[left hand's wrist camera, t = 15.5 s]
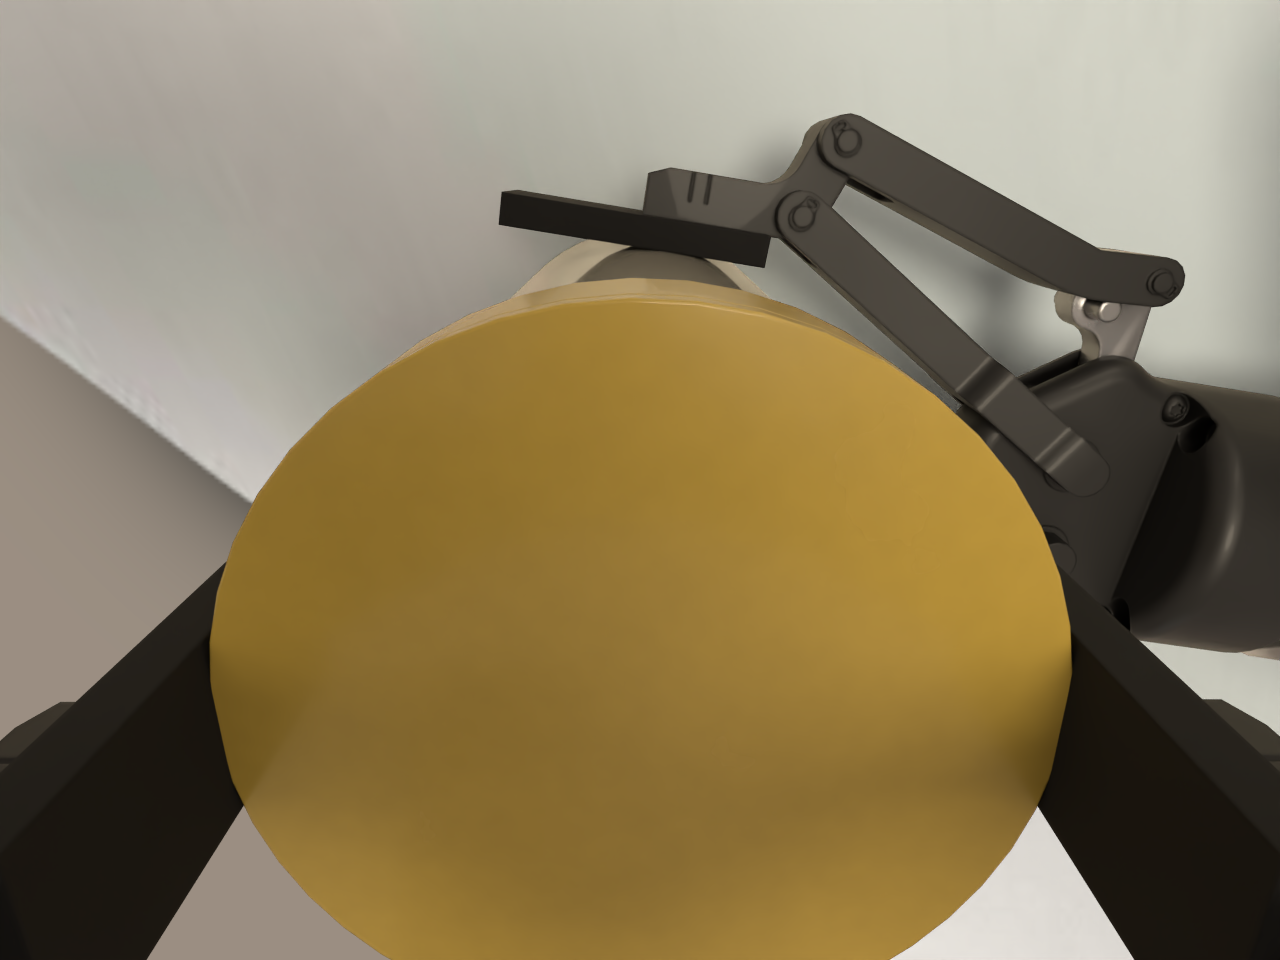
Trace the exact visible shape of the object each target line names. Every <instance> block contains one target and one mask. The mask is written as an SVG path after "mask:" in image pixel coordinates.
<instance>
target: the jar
mask: <svg viewBox="0 0 1280 960" xmlns="http://www.w3.org/2000/svg"><path fill="white" fill-rule="evenodd" d="M624 278H646V279H668V280H689V281H694V282H700V283H705V284H711V285H716V286H722V287H727V288H733V289H738V290H744V291H747V292H750V293H753V294H756V295H759V296H762V297H765V298H768V299H771V298H769V297H768V296H767V295H766V294H765V293H764V292H763V291H762V290H761V289H760V288H759V287H758V286H757V285H756V284H755V283H754V282H752V281H751V280H750V279H749V278H748V277H747V276H746V275H745V274H744V273H743V272H742V271H741V270H739V269H738V268H737V267H736V266H735V265H734V264H733V263H731V262H725V261H719V260H712V259H706V258H700V257H694V256H688V255H682V254H676V253H669V252H664V251H657V250H651V249H645V248H639V247H633V246H627V245H620V244H614V243H608V242H602V241H596V240H590V239H588V240H586V241H583V242H580V243H578V244H576V245H575V246H573V247H571V248H569V249H567V250H565V251H564V252H562V253H561V254H559V255H558V256H556V257H555V258H554V259H552V260H551V261H550V262H548V263H547V264H546V265H545V266H544V267H543V268H542V269H541V270H539V271H538V272H537V273H536V274H535V275H534V276H533V277H532V278H531V279H530V280H529V281H528V282H527V283H526V284H525V285H524V286H523V287H522V288H520V289H519V290H518V291H517V292H516V293H515V294H514V295H513V296H512V297H511V298H510V299H512V298H514V297H517V296H520V295H524V294H528V293H533V292H537V291H541V290H546V289H550V288H555V287H559V286H563V285H568V284H572V283H579V282H590V281H602V280H613V279H624ZM771 300H772V299H771Z"/></svg>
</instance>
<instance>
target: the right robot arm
mask: <svg viewBox="0 0 1280 960" xmlns="http://www.w3.org/2000/svg"><path fill="white" fill-rule="evenodd" d="M845 185H847V186H849V187H851V188H853V189H855V190H856V191H858V192H860V193H862V194H864V195H866V196H867V197H869V198H871V199H873V200H875V201H877V202H879V203H880V204H882V205H884V206H886V207H888V208H890V209H892V210H893V211H895V212H897V213H899V214H901V215H903V216H905V217H906V218H908V219H910V220H912V221H914V222H916V223H918V224H919V225H921V226H923V227H925V228H927V229H929V230H930V231H932V232H934V233H936V234H938V235H940V236H942V237H943V238H945V239H947V240H949V241H951V242H953V243H955V244H956V245H958V246H960V247H962V248H964V249H966V250H968V251H969V252H971V253H973V254H975V255H977V256H979V257H980V258H982V259H984V260H986V261H988V262H990V263H992V264H993V265H995V266H997V267H999V268H1001V269H1003V270H1005V271H1006V272H1008V273H1010V274H1012V275H1014V276H1016V277H1018V278H1020V279H1023V280H1025V281H1027V282H1030V283H1033V284H1036V285H1039V286H1043V287H1046V288H1050V289H1053V290H1057V292H1056V294H1055V296H1054V303H1055V309H1056V313H1057V315H1058V317H1059V318H1060V319H1061V320H1063V321H1064V322H1067V323H1069V324H1071V325H1074V326H1075V327H1076V328H1077V329H1078V330H1079V331H1080V333H1081V335H1082V348H1081V349H1079V350H1076V351H1073V352H1071V353H1069V354H1066V355H1064V356H1062V357H1060V358H1058V359H1056V360H1053V361H1051V362H1049V363H1047V364H1045V365H1043V366H1040V367H1038V368H1036V369H1034V370H1032V371H1030V372H1027V373H1025V374H1023V375H1021V376H1019V377H1015V376H1014V375H1013V374H1012V373H1011V372H1010V371H1008V370H1007V369H1006V368H1005V367H1003V366H1002V365H1001V364H999V363H998V362H997V361H995V360H994V359H993V358H992V357H991V356H990V355H988V354H987V353H986V352H985V351H984V350H983V349H982V348H981V347H980V346H979V345H978V344H977V343H976V342H975V341H973V340H972V339H971V338H970V337H969V336H968V335H967V334H966V333H965V332H964V331H963V330H962V329H961V328H960V327H959V326H957V325H956V324H955V323H954V322H953V321H952V320H951V319H950V318H949V317H948V316H947V315H946V314H945V313H944V312H943V311H941V310H940V309H939V308H938V307H937V306H936V305H935V304H934V303H933V302H932V301H931V300H930V299H929V298H928V297H926V296H925V295H924V294H923V293H922V292H921V291H920V290H919V289H918V288H917V287H916V286H915V285H914V284H913V283H912V282H910V281H909V280H908V279H907V278H906V277H905V276H904V275H903V274H902V273H901V272H900V271H899V270H898V269H897V268H896V267H894V266H893V265H892V264H891V263H890V262H889V261H888V260H887V259H886V258H885V257H884V256H883V255H882V254H881V253H880V252H878V251H877V250H876V249H875V248H874V247H873V246H872V245H871V244H870V243H869V242H868V241H867V240H866V239H865V238H864V237H862V236H861V235H860V234H859V233H858V232H857V231H856V230H855V229H854V228H853V227H852V226H851V225H850V224H849V223H847V222H846V221H845V220H844V219H843V218H842V217H841V216H840V215H839V214H838V213H837V212H836V211H835V210H834V209H833V208H832V206H833V204H834V203H835V201H836V199H837V198H838V196H839V194H840V193H841V191H842V189H843V188H844V186H845ZM499 225H504V226H510V227H516V228H522V229H528V230H535V231H541V232H547V233H553V234H559V235H565V236H571V237H577V238H584V239H590V240H596V241H602V242H608V243H614V244H620V245H627V246H633V247H639V248H645V249H651V250H657V251H664V252H669V253H676V254H682V255H688V256H694V257H700V258H706V259H712V260H719V261H725V262H731V263H737V264H743V265H749V266H755V267H761V268H765V263H766V258H767V253H768V249H769V244H770V239H771V237H774V238H779V239H780V240H781V241H782V242H783V243H785V244H786V245H787V246H788V247H789V248H790V249H791V250H792V251H793V252H794V253H796V254H797V255H798V256H799V257H800V258H801V259H802V260H803V261H804V262H805V263H807V264H808V265H809V266H810V267H811V268H812V269H813V270H814V271H815V272H817V273H818V274H819V275H820V276H821V277H822V278H823V279H824V280H825V281H826V282H828V283H829V284H830V285H831V286H832V287H833V288H834V289H835V290H836V291H837V292H839V293H840V294H841V295H842V296H843V297H844V298H845V299H846V300H847V301H849V302H850V303H851V304H852V305H853V306H854V307H855V308H856V309H857V310H858V311H860V312H861V313H862V314H863V315H864V316H865V317H866V318H867V319H868V320H869V321H871V322H872V323H873V324H874V325H875V326H876V327H877V328H878V329H879V330H881V331H882V332H883V333H884V334H885V335H886V336H887V337H888V338H889V339H890V340H892V341H893V342H894V343H895V344H896V345H897V346H898V347H899V348H900V349H901V350H903V351H904V352H905V353H906V354H907V355H908V356H909V357H910V358H911V359H912V360H914V361H915V362H916V363H917V364H918V365H919V366H920V367H921V368H922V369H924V370H925V371H926V372H927V373H928V375H929V376H930V377H931V378H932V379H933V380H934V381H935V382H937V383H938V384H939V385H940V386H941V387H942V388H943V389H944V390H945V391H946V392H948V393H949V394H950V395H951V396H952V397H953V398H954V399H955V400H956V401H957V402H959V403H960V404H961V405H962V407H961V408H960V409H959V410H958V411H957V412H956V413H955V414H956V415H957V416H958V417H960V418H961V419H962V420H963V421H964V422H965V423H966V424H967V425H968V426H969V427H970V428H972V429H973V430H974V431H975V432H976V433H977V434H978V435H979V436H980V437H981V438H982V440H983V441H984V442H985V443H986V445H987V446H988V447H989V448H990V450H991V451H992V452H993V453H994V455H995V456H996V457H997V458H998V460H999V461H1000V462H1001V463H1002V464H1003V466H1004V467H1005V468H1006V469H1007V471H1008V472H1009V473H1010V474H1011V476H1012V477H1013V478H1014V479H1015V481H1016V483H1017V485H1018V486H1019V488H1020V490H1021V492H1022V493H1023V495H1024V497H1025V498H1026V500H1027V502H1028V504H1029V505H1030V507H1031V509H1032V511H1033V512H1034V514H1035V516H1036V518H1037V519H1038V521H1039V523H1040V525H1041V526H1042V529H1043V532H1044V534H1045V537H1046V539H1047V542H1048V545H1049V547H1050V550H1051V553H1052V555H1053V558H1054V561H1055V563H1057V564H1058V565H1059V566H1060V567H1061V568H1062V569H1063V570H1064V571H1065V572H1066V573H1067V574H1068V575H1069V576H1070V577H1072V578H1073V579H1074V580H1075V581H1076V582H1077V583H1078V584H1079V585H1080V586H1081V587H1082V588H1083V589H1084V590H1085V591H1087V592H1088V593H1089V594H1090V595H1091V596H1092V597H1093V598H1094V599H1095V600H1096V601H1097V602H1098V603H1099V604H1101V605H1102V606H1103V607H1104V608H1105V609H1106V610H1107V611H1108V612H1109V613H1110V614H1111V615H1112V616H1113V617H1114V618H1116V619H1117V620H1118V621H1119V622H1120V623H1121V624H1122V625H1123V626H1124V627H1125V628H1126V629H1127V630H1128V631H1129V632H1131V633H1132V634H1133V635H1134V636H1135V637H1136V638H1137V639H1138V640H1140V641H1147V642H1154V643H1161V644H1169V645H1176V646H1183V647H1190V648H1197V649H1204V650H1211V651H1219V652H1232V653H1238V652H1242V653H1244V654H1246V655H1248V656H1255V657H1261V658H1268V659H1274V660H1280V397H1276V396H1272V395H1265V394H1259V393H1253V392H1246V391H1240V390H1234V389H1228V388H1221V387H1215V386H1209V385H1202V384H1196V383H1190V382H1183V381H1177V380H1171V379H1165V378H1158V377H1153V376H1151V375H1150V374H1149V373H1147V372H1146V371H1145V370H1144V369H1143V367H1142V366H1140V365H1139V364H1138V363H1136V362H1135V361H1134V359H1135V356H1136V353H1137V350H1138V347H1139V344H1140V341H1141V338H1142V335H1143V331H1144V328H1145V325H1146V322H1147V319H1148V316H1149V313H1150V310H1151V307H1159V306H1163V305H1166V304H1168V303H1170V302H1172V301H1173V300H1174V299H1175V298H1176V297H1177V296H1178V295H1179V293H1180V291H1181V290H1182V288H1183V286H1184V280H1185V273H1184V270H1183V267H1182V266H1181V265H1180V264H1179V262H1178V261H1176V260H1173V259H1170V258H1167V257H1160V256H1154V255H1147V254H1141V253H1134V252H1128V251H1122V250H1115V249H1106V248H1097V247H1095V246H1093V245H1091V244H1089V243H1087V242H1086V241H1084V240H1082V239H1080V238H1078V237H1077V236H1075V235H1073V234H1071V233H1069V232H1068V231H1066V230H1064V229H1062V228H1060V227H1059V226H1057V225H1055V224H1053V223H1052V222H1050V221H1048V220H1046V219H1044V218H1043V217H1041V216H1039V215H1037V214H1035V213H1034V212H1032V211H1030V210H1028V209H1026V208H1025V207H1023V206H1021V205H1019V204H1017V203H1016V202H1014V201H1012V200H1010V199H1008V198H1007V197H1005V196H1003V195H1001V194H999V193H998V192H996V191H994V190H992V189H990V188H989V187H987V186H985V185H983V184H981V183H980V182H978V181H976V180H974V179H972V178H971V177H969V176H967V175H965V174H963V173H962V172H960V171H958V170H956V169H955V168H953V167H951V166H949V165H947V164H946V163H944V162H942V161H940V160H938V159H937V158H935V157H933V156H931V155H929V154H928V153H926V152H924V151H922V150H920V149H919V148H917V147H915V146H913V145H911V144H910V143H908V142H906V141H904V140H902V139H901V138H899V137H897V136H895V135H893V134H892V133H890V132H888V131H886V130H884V129H883V128H881V127H879V126H877V125H875V124H874V123H872V122H870V121H868V120H866V119H865V118H863V117H861V116H858V115H855V114H851V113H850V114H844V115H839V116H836V117H832V118H829V119H826V120H822V121H819V122H817V123H816V124H814V125H813V126H811V127H810V128H809V130H808V131H807V132H806V134H805V136H804V139H803V143H802V146H801V148H800V149H799V151H798V153H797V155H796V156H795V158H794V160H793V162H792V163H791V165H790V167H789V168H788V169H787V171H786V172H785V173H784V174H783V175H782V176H781V177H780V178H778V179H776V180H774V181H772V182H768V183H759V182H753V181H747V180H741V179H735V178H729V177H724V176H718V175H712V174H706V173H700V172H694V171H688V170H682V169H676V168H667V169H663V170H659V171H654V172H650V173H648V178H647V185H646V191H645V198H644V205H643V211H642V210H636V209H630V208H624V207H618V206H612V205H606V204H600V203H594V202H588V201H581V200H575V199H569V198H563V197H557V196H551V195H545V194H539V193H533V192H527V191H521V190H513V191H505V192H502V194H501V205H500V216H499Z"/></svg>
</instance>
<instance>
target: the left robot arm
mask: <svg viewBox="0 0 1280 960" xmlns="http://www.w3.org/2000/svg"><path fill="white" fill-rule="evenodd" d="M225 566H226V562H225V563H224V564H223V565H222V566H221V567H220V568H219V569H218V570H217V571H216V572H215V573H214V574H213V575H212V576H210V577H209V578H208V579H207V580H206V581H205V582H204V583H203V584H202V585H201V586H200V587H199V588H198V589H197V590H195V591H194V592H193V593H192V594H191V595H190V596H189V597H188V598H187V599H186V600H185V601H184V602H183V603H181V604H180V605H179V606H178V607H177V608H176V609H175V610H174V611H173V612H172V613H171V614H170V615H169V616H168V617H166V618H165V619H164V620H163V621H162V622H161V623H160V624H159V625H158V626H157V627H156V628H155V629H154V630H153V631H151V632H150V633H149V634H148V635H147V636H146V637H145V638H144V639H143V640H142V641H141V642H140V643H139V644H137V645H136V646H135V647H134V648H133V649H132V650H131V651H130V652H129V653H128V654H127V655H126V656H125V657H124V658H123V659H121V660H120V661H119V662H118V663H117V664H116V665H115V666H114V667H113V668H112V669H111V670H110V671H109V672H108V673H106V674H105V675H104V676H103V677H102V678H101V679H100V680H99V681H98V682H97V683H96V684H95V685H94V686H92V687H91V688H90V689H89V690H88V691H87V692H86V693H85V694H84V695H83V696H82V697H81V698H80V699H79V700H77V701H76V702H60V703H58V704H56V705H54V706H53V707H51V708H49V709H47V710H46V711H44V712H42V713H40V714H38V715H37V716H35V717H33V718H31V719H30V720H28V721H26V722H25V723H23V724H21V725H19V726H17V727H16V728H14V729H13V730H12V731H11V732H10V733H9V734H8V735H6V736H5V737H4V738H3V739H2V740H1V741H0V960H147V958H148V956H149V955H150V953H151V952H152V950H153V949H154V947H155V945H156V944H157V942H158V941H159V939H160V938H161V936H162V934H163V933H164V931H165V930H166V928H167V926H168V925H169V923H170V921H171V920H172V918H173V917H174V915H175V914H176V912H177V911H178V909H179V907H180V906H181V904H182V903H183V901H184V899H185V898H186V896H187V895H188V893H189V891H190V890H191V888H192V887H193V885H194V883H195V882H196V880H197V879H198V877H199V876H200V874H201V872H202V871H203V869H204V868H205V866H206V864H207V863H208V861H209V860H210V858H211V856H212V855H213V853H214V852H215V850H216V849H217V847H218V845H219V844H220V842H221V841H222V839H223V837H224V836H225V834H226V833H227V831H228V829H229V828H230V826H231V825H232V823H233V822H234V820H235V818H236V817H237V815H238V814H239V812H240V810H241V809H242V807H243V806H244V804H243V802H242V800H241V798H240V796H239V794H238V792H237V790H236V788H235V786H234V784H233V782H232V778H231V774H230V770H229V766H228V762H227V758H226V753H225V749H224V744H223V740H222V735H221V731H220V726H219V722H218V717H217V712H216V708H215V703H214V699H213V694H212V689H211V683H210V636H211V629H212V623H213V616H214V609H215V603H216V596H217V591H218V587H219V584H220V581H221V578H222V575H223V572H224V569H225ZM1056 566H1057V569H1058V571H1059V574H1060V577H1061V582H1062V587H1063V592H1064V597H1065V602H1066V607H1067V612H1068V617H1069V622H1070V632H1071V657H1072V677H1071V682H1070V687H1069V692H1068V697H1067V701H1066V706H1065V711H1064V715H1063V720H1062V724H1061V729H1060V733H1059V738H1058V743H1057V747H1056V752H1055V756H1054V761H1053V765H1052V770H1051V774H1050V777H1049V781H1048V783H1047V785H1046V787H1045V790H1044V792H1043V794H1042V796H1041V799H1040V801H1039V803H1038V807H1039V809H1040V811H1041V812H1042V814H1043V815H1044V817H1045V819H1046V820H1047V822H1048V823H1049V825H1050V827H1051V828H1052V830H1053V831H1054V833H1055V834H1056V836H1057V838H1058V839H1059V841H1060V842H1061V844H1062V846H1063V847H1064V849H1065V850H1066V852H1067V854H1068V855H1069V857H1070V858H1071V860H1072V861H1073V863H1074V865H1075V866H1076V868H1077V869H1078V871H1079V873H1080V874H1081V876H1082V877H1083V879H1084V881H1085V882H1086V884H1087V885H1088V887H1089V888H1090V890H1091V892H1092V893H1093V895H1094V896H1095V898H1096V900H1097V901H1098V903H1099V904H1100V906H1101V908H1102V909H1103V911H1104V912H1105V914H1106V915H1107V917H1108V919H1109V920H1110V922H1111V923H1112V925H1113V927H1114V928H1115V930H1116V931H1117V933H1118V935H1119V936H1120V938H1121V939H1122V941H1123V942H1124V944H1125V946H1126V947H1127V949H1128V950H1129V952H1130V954H1131V955H1132V957H1133V958H1134V960H1280V736H1279V735H1278V734H1276V733H1275V732H1274V731H1273V730H1272V729H1271V728H1270V727H1268V726H1267V725H1266V724H1264V723H1262V722H1260V721H1259V720H1257V719H1255V718H1253V717H1252V716H1250V715H1248V714H1246V713H1245V712H1243V711H1241V710H1239V709H1237V708H1236V707H1234V706H1232V705H1230V704H1229V703H1227V702H1225V701H1223V700H1221V699H1201V698H1200V697H1199V696H1198V695H1197V694H1196V693H1195V692H1194V691H1193V690H1192V689H1191V688H1190V687H1189V686H1187V685H1186V684H1185V683H1184V682H1183V681H1182V680H1181V679H1180V678H1179V677H1178V676H1177V675H1176V674H1175V673H1173V672H1172V671H1171V670H1170V669H1169V668H1168V667H1167V666H1166V665H1165V664H1164V663H1163V662H1162V661H1161V660H1160V659H1158V658H1157V657H1156V656H1155V655H1154V654H1153V653H1152V652H1151V651H1150V650H1149V649H1148V648H1147V647H1146V646H1145V645H1143V644H1142V643H1141V642H1140V641H1139V640H1138V639H1137V638H1136V637H1135V636H1134V635H1133V634H1132V633H1131V632H1129V631H1128V630H1127V629H1126V628H1125V627H1124V626H1123V625H1122V624H1121V623H1120V622H1119V621H1118V620H1117V619H1116V618H1114V617H1113V616H1112V615H1111V614H1110V613H1109V612H1108V611H1107V610H1106V609H1105V608H1104V607H1103V606H1102V605H1101V604H1099V603H1098V602H1097V601H1096V600H1095V599H1094V598H1093V597H1092V596H1091V595H1090V594H1089V593H1088V592H1087V591H1085V590H1084V589H1083V588H1082V587H1081V586H1080V585H1079V584H1078V583H1077V582H1076V581H1075V580H1074V579H1073V578H1072V577H1070V576H1069V575H1068V574H1067V573H1066V572H1065V571H1064V570H1063V569H1062V568H1061V567H1060V566H1059V565H1058V564H1057V563H1056Z"/></svg>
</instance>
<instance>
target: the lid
mask: <svg viewBox="0 0 1280 960" xmlns="http://www.w3.org/2000/svg"><path fill="white" fill-rule="evenodd" d="M1071 677H1072V657H1071V632H1070V622H1069V617H1068V612H1067V607H1066V602H1065V597H1064V592H1063V587H1062V582H1061V577H1060V574H1059V571H1058V569H1057V566H1056V563H1055V561H1054V558H1053V555H1052V553H1051V550H1050V547H1049V545H1048V542H1047V539H1046V537H1045V534H1044V532H1043V529H1042V526H1041V525H1040V523H1039V521H1038V519H1037V518H1036V516H1035V514H1034V512H1033V511H1032V509H1031V507H1030V505H1029V504H1028V502H1027V500H1026V498H1025V497H1024V495H1023V493H1022V492H1021V490H1020V488H1019V486H1018V485H1017V483H1016V481H1015V479H1014V478H1013V477H1012V476H1011V474H1010V473H1009V472H1008V471H1007V469H1006V468H1005V467H1004V466H1003V464H1002V463H1001V462H1000V461H999V460H998V458H997V457H996V456H995V455H994V453H993V452H992V451H991V450H990V448H989V447H988V446H987V445H986V443H985V442H984V441H983V440H982V438H981V437H980V436H979V435H978V434H977V433H976V432H975V431H974V430H973V429H972V428H970V427H969V426H968V425H967V424H966V423H965V422H964V421H963V420H962V419H961V418H960V417H958V416H957V415H956V414H955V413H954V412H953V411H952V410H951V409H950V408H949V407H948V406H946V405H945V404H944V403H943V402H942V401H941V400H940V399H939V398H938V397H937V396H936V395H934V394H933V393H931V392H930V391H929V390H927V389H926V388H925V387H923V386H922V385H921V384H919V383H918V382H917V381H915V380H914V379H913V378H911V377H910V376H908V375H907V374H906V373H904V372H903V371H902V370H900V369H899V368H898V367H896V366H895V365H894V364H892V363H891V362H890V361H888V360H887V359H885V358H884V357H882V356H881V355H879V354H878V353H876V352H875V351H873V350H872V349H870V348H869V347H867V346H866V345H864V344H863V343H862V342H860V341H859V340H857V339H856V338H854V337H853V336H851V335H850V334H848V333H847V332H845V331H843V330H841V329H839V328H837V327H835V326H833V325H831V324H829V323H827V322H825V321H823V320H821V319H819V318H817V317H815V316H812V315H810V314H808V313H806V312H804V311H802V310H800V309H798V308H796V307H793V306H790V305H787V304H784V303H781V302H777V301H774V300H771V299H768V298H765V297H762V296H759V295H756V294H753V293H750V292H747V291H744V290H738V289H733V288H727V287H722V286H716V285H711V284H705V283H700V282H694V281H689V280H668V279H646V278H624V279H613V280H602V281H590V282H579V283H572V284H568V285H563V286H559V287H555V288H550V289H546V290H541V291H537V292H533V293H528V294H524V295H520V296H517V297H514V298H512V299H509V300H506V301H504V302H501V303H498V304H496V305H493V306H490V307H488V308H485V309H483V310H480V311H477V312H475V313H472V314H469V315H467V316H465V317H464V318H462V319H460V320H458V321H456V322H454V323H453V324H451V325H449V326H447V327H445V328H443V329H442V330H440V331H438V332H436V333H434V334H432V335H430V336H429V337H427V338H425V339H423V340H421V341H420V342H419V343H417V344H416V345H415V346H413V347H412V348H411V349H409V350H408V351H407V352H405V353H404V354H403V355H401V356H400V357H399V358H397V359H396V360H395V361H393V362H392V363H390V364H389V365H388V366H386V367H385V368H384V369H382V370H381V371H380V372H378V373H377V374H376V375H374V376H373V377H372V378H370V379H369V380H368V381H366V382H365V383H364V384H362V385H361V386H360V387H358V388H357V389H356V390H354V391H353V392H352V393H350V394H349V395H348V396H346V397H345V398H344V399H342V400H341V401H340V402H338V403H337V404H336V405H334V406H333V407H332V408H331V409H330V410H329V411H328V412H327V413H326V414H325V415H324V416H323V417H322V418H321V419H320V420H319V421H318V422H317V423H316V424H315V425H314V426H313V427H312V428H311V429H310V430H309V431H308V432H307V433H306V434H305V435H304V436H303V437H302V438H301V439H300V440H299V441H298V442H297V443H296V444H295V445H294V446H293V447H292V448H291V449H290V450H289V452H288V453H287V454H286V456H285V457H284V458H283V460H282V461H281V463H280V464H279V465H278V467H277V468H276V469H275V471H274V472H273V474H272V475H271V476H270V478H269V479H268V481H267V482H266V483H265V485H264V486H263V487H262V489H261V490H260V492H259V493H258V494H257V496H256V498H255V500H254V502H253V504H252V506H251V508H250V510H249V512H248V514H247V516H246V518H245V520H244V522H243V524H242V526H241V528H240V530H239V532H238V533H237V535H236V537H235V539H234V541H233V544H232V547H231V550H230V553H229V556H228V559H227V562H226V566H225V569H224V572H223V575H222V578H221V581H220V584H219V587H218V591H217V596H216V603H215V609H214V616H213V623H212V629H211V636H210V683H211V689H212V694H213V699H214V703H215V708H216V712H217V717H218V722H219V726H220V731H221V735H222V740H223V744H224V749H225V753H226V758H227V762H228V766H229V770H230V774H231V778H232V782H233V784H234V786H235V788H236V790H237V792H238V794H239V796H240V798H241V800H242V802H243V804H244V806H245V808H246V810H247V812H248V814H249V816H250V819H251V821H252V823H253V824H254V826H255V827H256V829H257V830H258V832H259V833H260V835H261V836H262V838H263V839H264V841H265V842H266V844H267V845H268V847H269V848H270V850H271V851H272V852H273V854H274V855H275V857H276V858H277V860H278V861H279V863H280V864H281V865H282V866H283V867H284V868H285V869H286V871H287V872H288V873H289V874H290V875H291V876H292V877H293V879H294V880H295V881H296V882H297V883H298V884H299V885H300V887H301V888H302V889H303V890H304V891H305V892H306V893H307V895H308V896H309V897H310V898H311V899H313V900H314V901H315V902H316V903H317V904H318V905H319V906H320V907H321V908H323V909H324V910H325V911H326V912H327V913H328V914H329V915H330V916H331V917H333V918H334V919H335V920H336V921H337V922H338V923H339V924H340V925H341V926H343V927H344V928H345V929H347V930H348V931H349V932H351V933H352V934H354V935H355V936H356V937H358V938H359V939H361V940H362V941H363V942H365V943H366V944H368V945H369V946H371V947H372V948H373V949H375V950H376V951H378V952H379V953H380V954H382V955H384V956H385V957H387V958H389V959H391V960H890V959H891V958H893V957H895V956H896V955H898V954H900V953H901V952H903V951H905V950H906V949H908V948H910V947H911V946H913V945H914V944H915V943H917V942H918V941H919V940H921V939H922V938H923V937H924V936H926V935H927V934H928V933H930V932H931V931H932V930H934V929H935V928H936V927H937V926H939V925H940V924H941V923H943V922H944V921H945V920H947V919H948V918H949V917H950V916H951V915H952V914H953V913H954V912H955V911H956V910H957V909H959V908H960V907H961V906H962V905H963V904H964V903H965V902H966V901H967V900H968V899H969V898H970V897H971V896H972V895H973V894H974V893H975V892H976V891H977V890H978V889H979V888H980V887H981V886H982V885H983V884H984V883H985V881H986V880H987V879H988V878H989V877H990V875H991V874H992V873H993V872H994V870H995V869H996V868H997V867H998V865H999V864H1000V863H1001V862H1002V860H1003V859H1004V858H1005V857H1006V855H1007V854H1008V853H1009V852H1010V851H1011V849H1012V848H1013V846H1014V844H1015V843H1016V841H1017V839H1018V838H1019V836H1020V835H1021V833H1022V831H1023V830H1024V828H1025V826H1026V825H1027V823H1028V822H1029V820H1030V818H1031V817H1032V815H1033V813H1034V812H1035V810H1036V808H1037V806H1038V803H1039V801H1040V799H1041V796H1042V794H1043V792H1044V790H1045V787H1046V785H1047V783H1048V781H1049V777H1050V774H1051V770H1052V765H1053V761H1054V756H1055V752H1056V747H1057V743H1058V738H1059V733H1060V729H1061V724H1062V720H1063V715H1064V711H1065V706H1066V701H1067V697H1068V692H1069V687H1070V682H1071Z"/></svg>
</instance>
